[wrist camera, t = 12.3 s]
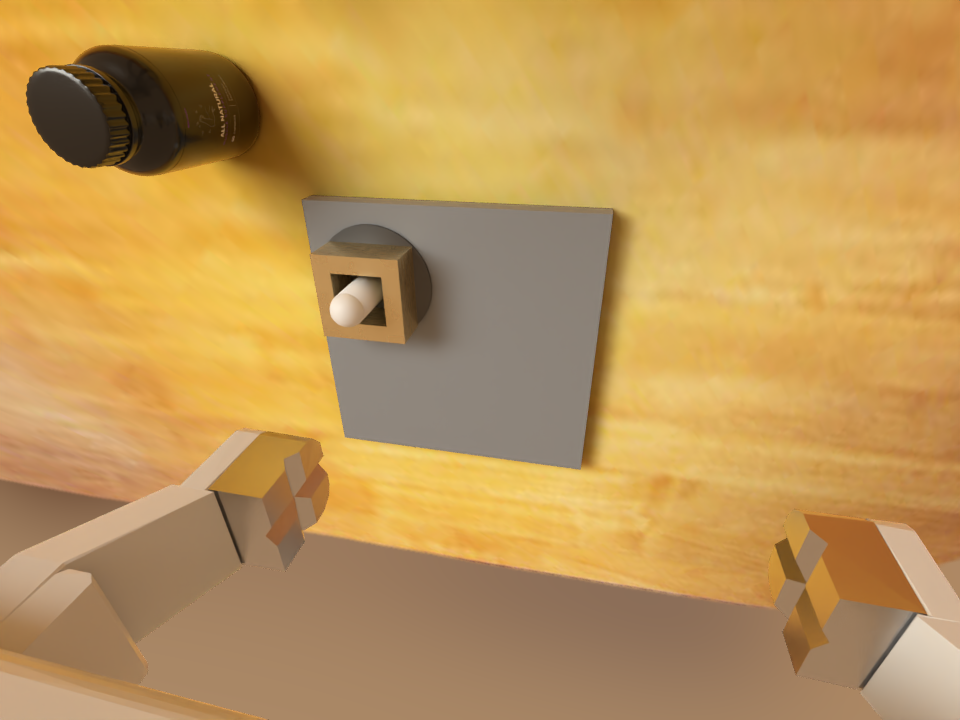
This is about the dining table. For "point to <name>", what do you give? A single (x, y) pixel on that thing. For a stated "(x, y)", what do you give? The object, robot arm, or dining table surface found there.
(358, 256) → the wooden collar
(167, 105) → the supplement bottle
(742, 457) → the dining table surface
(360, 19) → the dining table surface
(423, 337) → the post board
